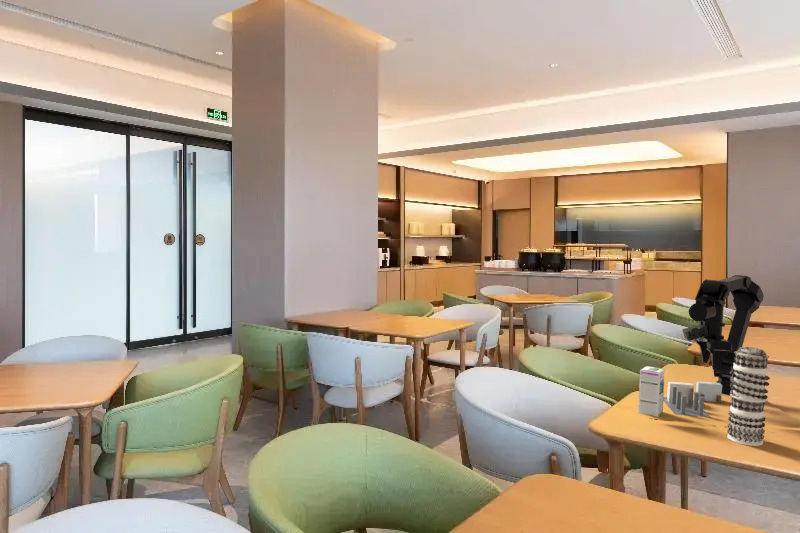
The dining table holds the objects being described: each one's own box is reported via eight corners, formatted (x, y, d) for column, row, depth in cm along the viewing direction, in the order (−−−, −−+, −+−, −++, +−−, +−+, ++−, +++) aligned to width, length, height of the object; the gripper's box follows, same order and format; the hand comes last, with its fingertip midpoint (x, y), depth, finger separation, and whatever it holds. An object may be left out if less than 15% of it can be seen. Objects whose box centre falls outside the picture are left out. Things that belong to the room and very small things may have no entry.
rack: (692, 403, 186) (693, 383, 185) (711, 421, 168) (712, 399, 168) (659, 400, 188) (660, 380, 187) (674, 418, 170) (676, 396, 170)
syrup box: (658, 420, 168) (661, 372, 166) (637, 416, 171) (640, 368, 170) (662, 415, 172) (665, 368, 171) (642, 411, 176) (645, 365, 175)
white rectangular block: (690, 401, 183) (691, 383, 183) (692, 403, 181) (693, 385, 181) (666, 399, 185) (668, 381, 184) (668, 401, 182) (670, 383, 182)
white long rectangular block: (718, 400, 186) (719, 382, 186) (720, 403, 184) (722, 384, 184) (695, 399, 188) (696, 381, 187) (697, 401, 185) (698, 383, 185)
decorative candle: (717, 435, 156) (723, 346, 155) (741, 432, 160) (748, 344, 158) (748, 448, 148) (755, 353, 146) (773, 444, 151) (780, 351, 149)
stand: (717, 401, 188) (718, 391, 188) (724, 407, 182) (725, 396, 182) (691, 399, 190) (692, 389, 189) (697, 405, 184) (698, 394, 184)
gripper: (677, 313, 194) (674, 358, 196) (695, 322, 176) (692, 371, 177) (712, 314, 192) (710, 360, 194) (734, 324, 174) (730, 374, 175)
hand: (709, 366), depth 185 cm, fingers open, 9 cm apart
